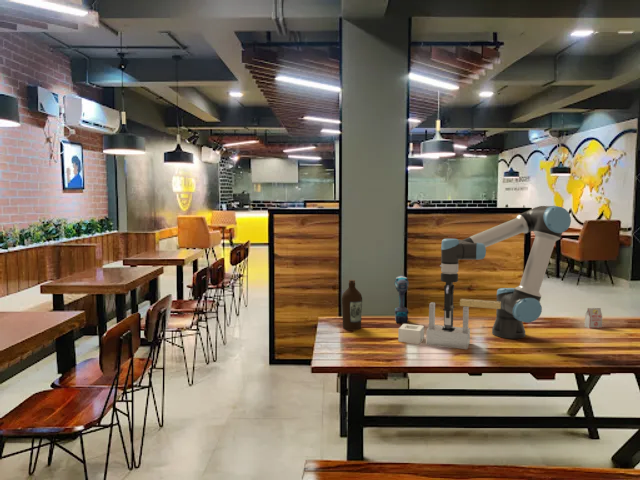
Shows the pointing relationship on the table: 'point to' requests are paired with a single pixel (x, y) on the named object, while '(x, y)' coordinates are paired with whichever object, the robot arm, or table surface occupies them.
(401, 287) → the impact wrench
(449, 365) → the table surface
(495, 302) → the rectangular wooden block
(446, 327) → the smooth metal cylinder
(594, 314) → the milk carton
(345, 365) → the table surface
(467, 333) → the grey post stand
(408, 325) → the cream square block
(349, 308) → the olive oil
